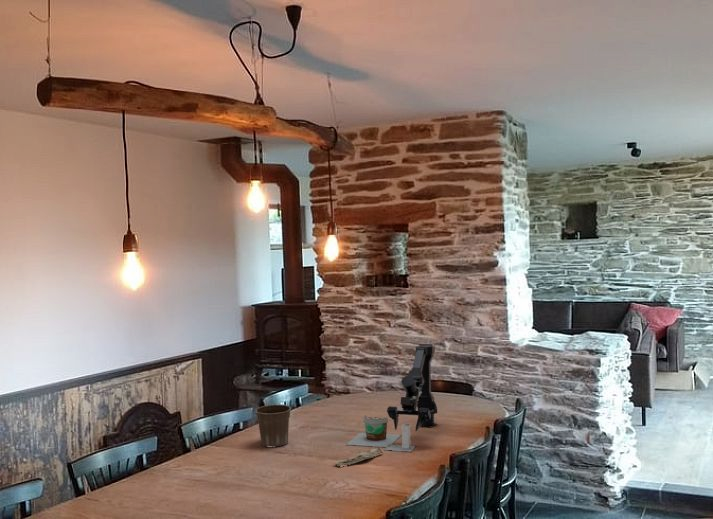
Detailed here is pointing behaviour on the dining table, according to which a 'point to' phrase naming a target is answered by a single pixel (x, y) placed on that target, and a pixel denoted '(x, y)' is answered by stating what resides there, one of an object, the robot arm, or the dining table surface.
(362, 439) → the pull board
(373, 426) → the food container
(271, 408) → the plant pot
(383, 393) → the dining table surface
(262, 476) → the dining table surface
